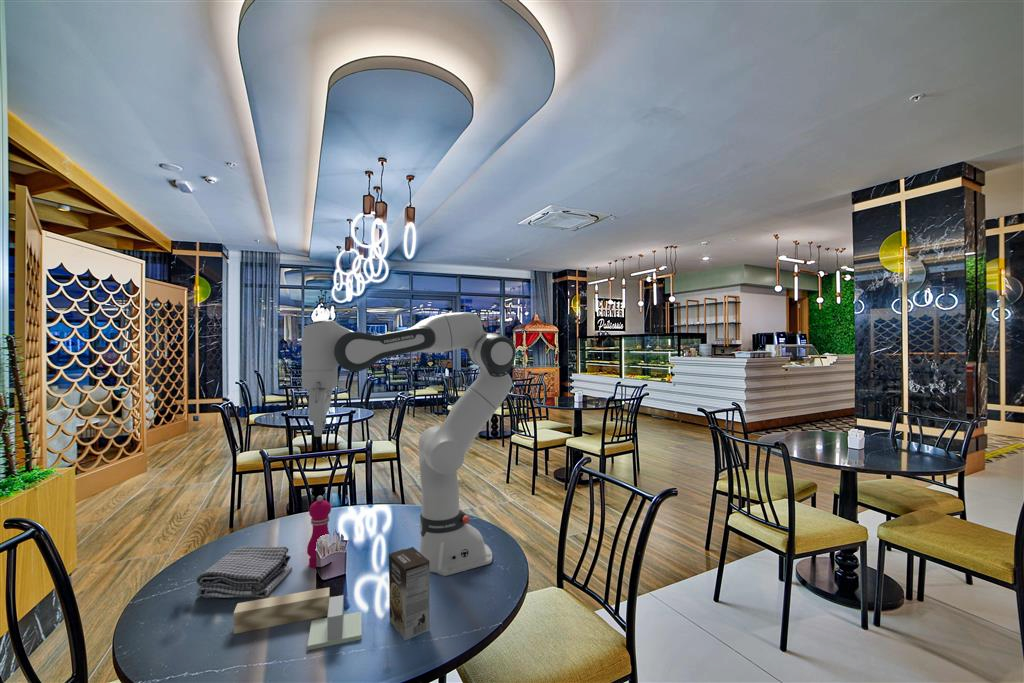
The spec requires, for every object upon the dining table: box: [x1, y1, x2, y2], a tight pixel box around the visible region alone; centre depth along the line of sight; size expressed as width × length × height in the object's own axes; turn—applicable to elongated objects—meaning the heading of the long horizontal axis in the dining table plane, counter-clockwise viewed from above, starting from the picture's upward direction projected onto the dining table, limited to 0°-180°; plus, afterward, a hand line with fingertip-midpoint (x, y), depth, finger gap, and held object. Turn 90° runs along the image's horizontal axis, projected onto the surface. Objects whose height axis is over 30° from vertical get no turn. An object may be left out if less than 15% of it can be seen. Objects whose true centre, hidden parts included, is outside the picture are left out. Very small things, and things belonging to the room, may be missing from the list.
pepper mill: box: [306, 495, 332, 569], centre depth 134 cm, size 7×7×20 cm
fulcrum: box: [306, 594, 363, 651], centre depth 103 cm, size 11×9×6 cm
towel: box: [195, 546, 293, 599], centre depth 123 cm, size 15×18×8 cm
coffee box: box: [388, 546, 431, 641], centre depth 105 cm, size 9×6×16 cm
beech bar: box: [232, 587, 331, 635], centre depth 108 cm, size 20×4×5 cm, turn 110°
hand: (319, 432), depth 121 cm, fingers open, 8 cm apart
